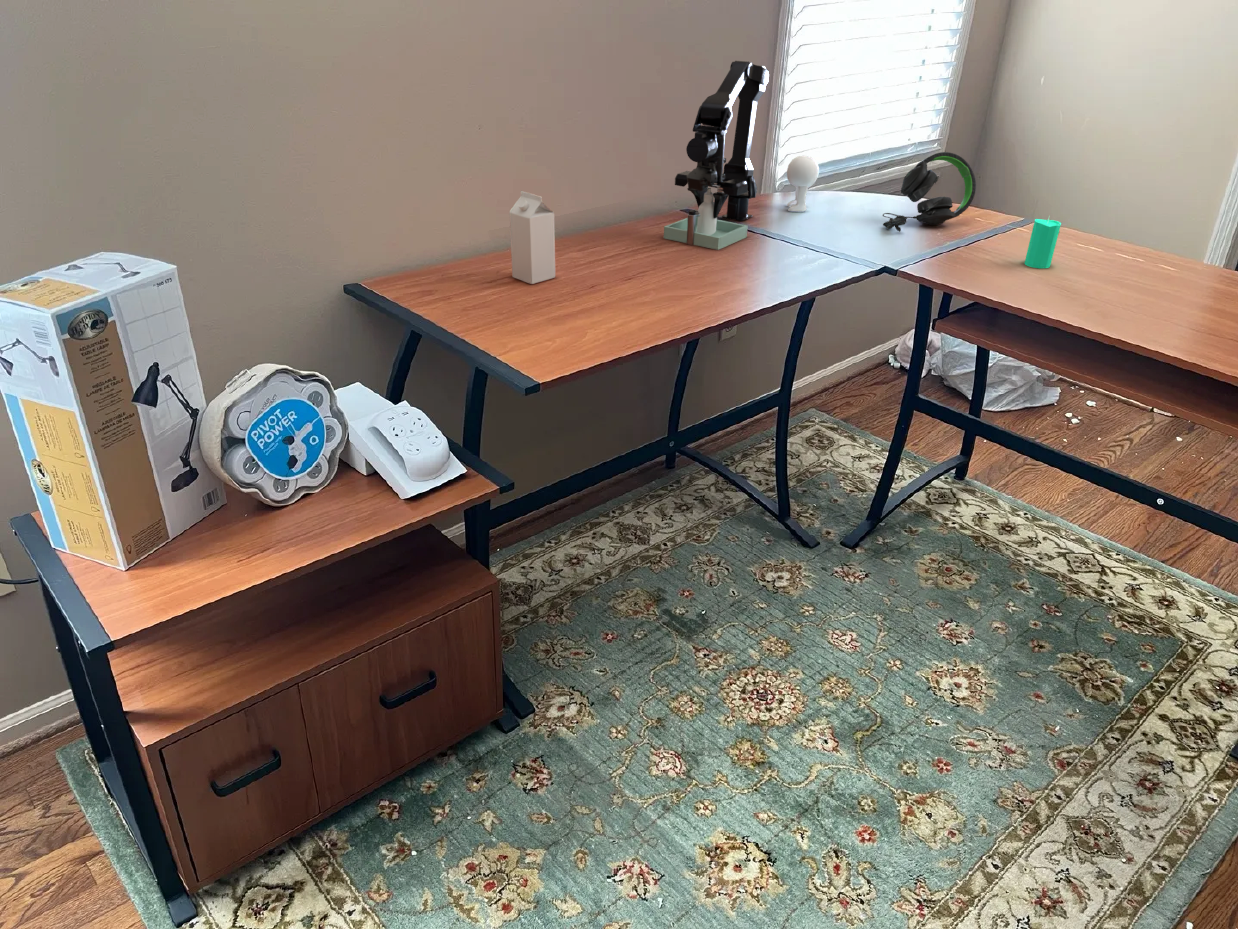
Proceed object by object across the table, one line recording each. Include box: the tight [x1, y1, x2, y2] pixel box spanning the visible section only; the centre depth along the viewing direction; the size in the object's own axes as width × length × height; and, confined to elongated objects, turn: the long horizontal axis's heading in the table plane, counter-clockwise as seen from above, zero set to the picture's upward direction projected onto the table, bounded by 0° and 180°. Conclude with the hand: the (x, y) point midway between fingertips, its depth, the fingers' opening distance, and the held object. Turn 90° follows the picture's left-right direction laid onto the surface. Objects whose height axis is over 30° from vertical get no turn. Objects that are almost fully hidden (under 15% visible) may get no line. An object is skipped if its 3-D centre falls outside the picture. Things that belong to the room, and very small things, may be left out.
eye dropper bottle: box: [697, 187, 718, 235], centre depth 235 cm, size 4×6×12 cm
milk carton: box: [508, 190, 556, 285], centre depth 204 cm, size 7×7×19 cm
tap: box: [685, 209, 700, 246], centre depth 232 cm, size 4×2×8 cm, turn 143°
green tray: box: [663, 217, 749, 251], centre depth 238 cm, size 15×17×3 cm
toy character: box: [786, 155, 820, 213], centre depth 262 cm, size 9×9×15 cm
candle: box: [1023, 214, 1062, 270], centre depth 219 cm, size 6×6×12 cm
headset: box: [881, 151, 977, 233], centre depth 247 cm, size 18×14×29 cm
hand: (708, 216), depth 237 cm, fingers closed on eye dropper bottle, 4 cm apart
